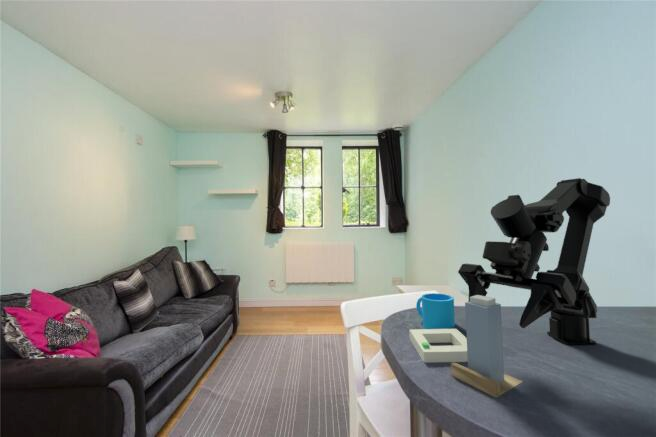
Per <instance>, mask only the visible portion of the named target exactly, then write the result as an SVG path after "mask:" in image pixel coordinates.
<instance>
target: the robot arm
mask: <svg viewBox="0 0 656 437" xmlns="http://www.w3.org/2000/svg"><path fill="white" fill-rule="evenodd" d="M610 205H611V196H610V194H609V192H608V190H606V189H605V187H604V186H602V185H599V184H595V183H591V182H588V181H587V179H585V178H580V177H578V178H569V179H564V180H563V179H562V180H560V181H558V182H557V183H556V186H555V187H553V189H551V190H550V191H549V192H548V193H547V194H546V195H544V196H543V197H542V198H541V199H540V200H538V201H534V202H531V203H527V204H525V203H524V202H523V200H522V197H521V195H520V194H514V195H511V194H510V195H508V196H507V198H506V199H504V200H501V201H499V202H498V203H496V204H495V205H494V206H492V207H491V209H490V215H491V216H492V218H493V220H494V221H495V223H496V224H497V226H498V229H500V230H501V232H502V234H503V236H505V237H507V238H510V240H509V242H508V241H485V244H484V248H483V253H482V258H483V259H484V260H487V261H489V262H491V263H490V265H489V267H490V268H491V269H492V270H495V272H488V271H486V270H485V269H484V268H483V266H482V264H481V265H480V264H476V263H475V264H474V263H462V264H461V265H460V267H459V270H458V271H457V273H458V274H459V276H460V277H461V278H462V280H464V282H465V284H466V285H467V286H468V300H467V302H470V297H471V296H475V295H481V296H486V297H487V294H488V291H487V289H489V288H490V287H491V284H495V285H501V286H507V287H509V288H510V287H511V288H514V289H523V290H529V291H530V294H529V298H528V301H527V303H526V305H525V307H524V309H523V312H522V314H521V317H520V320H519V323H518V324H519V325H518V326H520V328H521V329H525V328H527V327H528V326H530V325H531V324H532V323H534V322H536V321H537V320H538V319H540V318H541V317H542V316H544V315H546V314H549V313H550V317H549V318H548V319H549V322H548V323H549V331H546V334H547V335H548V336H551V338H555V339H556V340H558V341H560V342H562V343H563V344H566V345H596V344H597V341H596V340H593V339H591V336H590V319H596V318H597V316H598V315H597V313H598V309H597V307H598V305H597V303H596V302H595V299H593V297H592V295H591V293H590V288H589V285H588V284H587V282H586V280H585V278H584V276H583V274H584V269H585V265H586V261H587V255H588V251H589V246H590V242H591V237H592V233H593V229H594V224H595V223H596V222H597V221H600V220H601V218H603V217H604V216H605V215H606V211H607V208H608V207H609V206H610ZM564 212H566V214H567V216H568V222H567V225H566V230H565V234H564V238H563V242H562V244H561V246H562V247H561V249H560V254H559V257H558V262H557V267H555V268H554V269H547V270H546V271H540V270H541V269H540V268H541V267H540V265H539V264H538V263H539V261H540V258H541V255H542V254H543V252H549V250H550V249H549V247H550V246H549V244H548V243H547V241H548V239H547V236H546V235H545V233H556V232H558V231H559V229H560V228H561V227H562V226H563V223H564V221H565V216H564V215H563V213H564ZM535 272H537V273H536V275H535V278H533V275H534V274H535Z"/></svg>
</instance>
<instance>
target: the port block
mask: <svg viewBox="0 0 656 437" xmlns="http://www.w3.org/2000/svg"><path fill="white" fill-rule="evenodd" d="M408 331H409V333H408V335H409V339H410V341H411V343H412V345H413V346H414V348H415V350H416V351H417V353H418V354H419V356H420V359H421V360H422V362H423V363H429V364H430V363H454V362H455V363H468V355H467V336H465V335H464V334H463V333H462V332H460V331H459V330H458V329H457V328H450V329H424V328H418V329H417V328H416V329H415V328H414V329H412V328H411V329H409V330H408ZM431 343H432V344H433V343H436V344H437V343H451V344H452V345H431Z"/></svg>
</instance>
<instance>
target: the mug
mask: <svg viewBox="0 0 656 437" xmlns="http://www.w3.org/2000/svg"><path fill="white" fill-rule="evenodd" d="M415 306H416V311H417V312H418V313H417V314H418V315H419V316H420V317H421V319H422V327H423V328H422V329H454V328H455V327H456V320H455V319H456V316H455V298H454V296H452V295H449V294H447V293H426V294H422V295H421V297H419V298H418V299H417V301H416V305H415Z"/></svg>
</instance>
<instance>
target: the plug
mask: <svg viewBox="0 0 656 437" xmlns="http://www.w3.org/2000/svg"><path fill="white" fill-rule="evenodd" d="M501 305H502V304H501V303H498V302H496V298H495V297H492V296H491V297H489V296H487V295H486V296H481V295H475V296H471V297H470V302H468V301H467V302H465V303H464V310H465V312H464V313H465V327H466V328H465V329H466V338H467V355H468V362H467V368H468V369H471V370H473V371H475V372H477V373H479V374H482V375H484V376H486V377H488V378H491V379H493V380H495V381H497V382H499V383H500V382H501V381H503V380H504V374H505V369H504V368H505V367H504V346H503V344H504V343H503V328H502V327H503V326H502V325H503V324H502V306H501Z"/></svg>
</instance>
